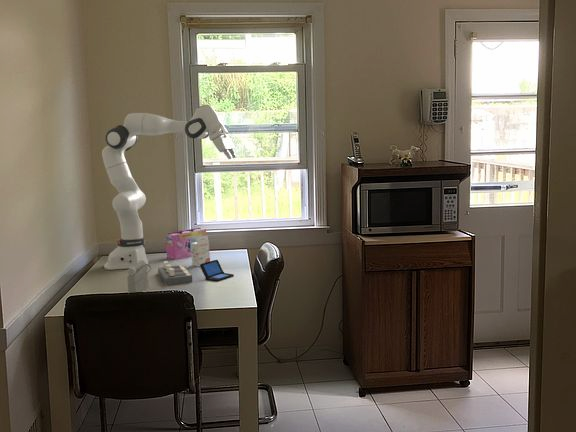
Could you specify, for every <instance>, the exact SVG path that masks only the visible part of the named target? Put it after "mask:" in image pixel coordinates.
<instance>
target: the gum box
mask: <svg viewBox="0 0 576 432" xmlns="http://www.w3.org/2000/svg"><path fill="white" fill-rule="evenodd" d="M164 235H165V247H166V248H165V249H166V251H165V252H166V258H167V259H170V260H178V259H182V258H188V257H192V252H191V243H194V242H197V238H199V237H203V236H207V229H206V228H205V229H203V228H201V227H195V228H190V229H186V230H180V231H175V232H170V233H165V234H164ZM201 240H204V239H203V238H202V239H201Z"/></svg>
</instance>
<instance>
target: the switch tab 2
mask: <svg viewBox="0 0 576 432" xmlns="http://www.w3.org/2000/svg"><path fill="white" fill-rule="evenodd" d="M169 275H170V276H175V274H174V268H169Z"/></svg>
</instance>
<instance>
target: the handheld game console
mask: <svg viewBox="0 0 576 432" xmlns="http://www.w3.org/2000/svg"><path fill="white" fill-rule="evenodd" d="M199 268H200V269H201V271H202V273H203V275H204V278H205V281H210V282H214V283H217V282H218V283H219V282H221V281H224V280H227V279H230V278H233V277H234V275H235V274H233V273H228V272H227V273H226V272H224V270H223V269H222V267H221V264H220V261H219V260H218V259H214V260H210V262H206V263H203V264H200V266H199Z"/></svg>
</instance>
